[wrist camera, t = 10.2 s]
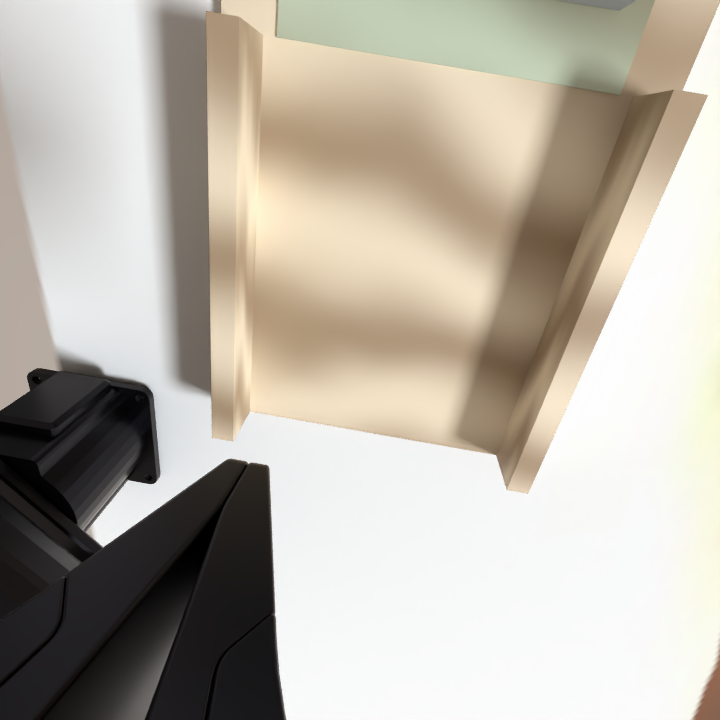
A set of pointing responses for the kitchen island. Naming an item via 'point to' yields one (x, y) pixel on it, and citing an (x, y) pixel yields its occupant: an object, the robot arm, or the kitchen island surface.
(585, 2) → the slate block
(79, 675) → the robot arm
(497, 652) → the kitchen island surface
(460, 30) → the beige wooden tray
